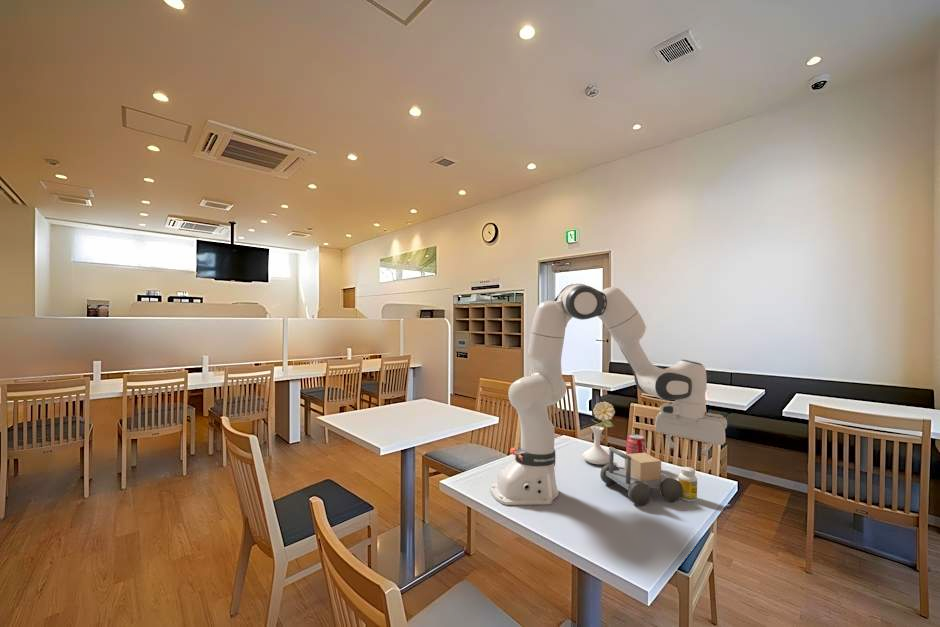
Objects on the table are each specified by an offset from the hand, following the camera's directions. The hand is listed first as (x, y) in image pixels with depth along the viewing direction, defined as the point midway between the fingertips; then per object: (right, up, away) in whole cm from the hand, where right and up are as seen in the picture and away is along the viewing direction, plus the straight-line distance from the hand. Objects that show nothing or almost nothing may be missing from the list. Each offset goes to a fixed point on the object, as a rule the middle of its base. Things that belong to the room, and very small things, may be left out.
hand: (688, 451), depth 130 cm
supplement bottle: (0, -15, -1) cm, 15 cm away
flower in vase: (-20, -15, +30) cm, 39 cm away
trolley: (-15, -15, +3) cm, 21 cm away
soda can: (-6, -15, +26) cm, 31 cm away
